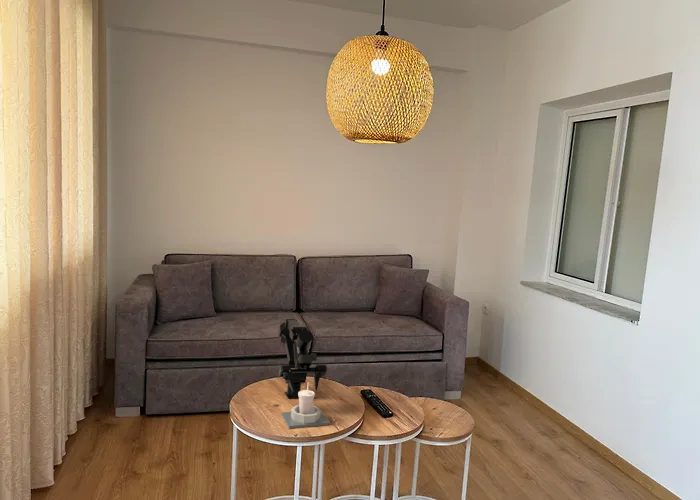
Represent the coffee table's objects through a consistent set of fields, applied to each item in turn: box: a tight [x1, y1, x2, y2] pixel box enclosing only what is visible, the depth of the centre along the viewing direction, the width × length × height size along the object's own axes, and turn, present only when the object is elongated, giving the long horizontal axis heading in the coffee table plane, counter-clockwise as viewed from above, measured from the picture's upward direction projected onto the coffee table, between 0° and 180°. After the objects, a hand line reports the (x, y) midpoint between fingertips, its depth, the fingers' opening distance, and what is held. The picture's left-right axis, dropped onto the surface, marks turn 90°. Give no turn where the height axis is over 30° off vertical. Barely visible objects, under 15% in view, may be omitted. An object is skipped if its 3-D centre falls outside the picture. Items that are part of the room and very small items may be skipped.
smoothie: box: [298, 381, 316, 415], centre depth 197 cm, size 6×6×14 cm
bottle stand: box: [280, 404, 331, 429], centre depth 197 cm, size 12×16×4 cm
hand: (304, 390), depth 200 cm, fingers open, 9 cm apart
